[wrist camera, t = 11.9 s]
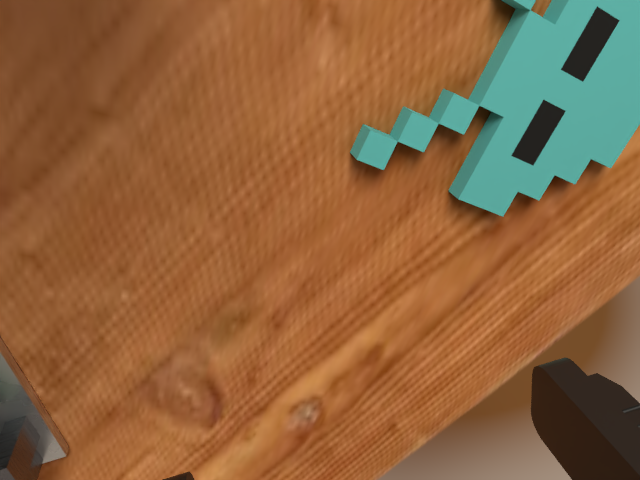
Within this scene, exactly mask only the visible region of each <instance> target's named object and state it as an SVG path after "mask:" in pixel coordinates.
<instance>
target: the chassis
mask: <svg viewBox="0 0 640 480" xmlns="http://www.w3.org/2000/svg"><path fill="white" fill-rule="evenodd" d="M68 448H69V446H68V444H67V443H66V441H65V440H64V438H63V436H62V435H61V433H60V432H59V430H58V428H57V427H56V425H55V424H54V422H53V420H52V419H51V417H50V416H49V414H48V412H47V411H46V409H45V408H44V406H43V404H42V403H41V401H40V400H39V398H38V396H37V395H36V393H35V392H34V390H33V388H32V387H31V385H30V383H29V382H28V380H27V379H26V377H25V375H24V374H23V372H22V371H21V369H20V367H19V366H18V364H17V363H16V361H15V359H14V358H13V356H12V355H11V353H10V351H9V350H8V348H7V347H6V345H5V343H4V342H3V340H2V339H1V337H0V480H37V479H38V475H39V472H40V469H41V466H42V464H43V463H46V462H49V461H53V460H56V459H59V458H62V457H66V456H67V452H68Z"/></svg>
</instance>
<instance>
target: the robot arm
mask: <svg viewBox="0 0 640 480" xmlns="http://www.w3.org/2000/svg"><path fill="white" fill-rule="evenodd" d="M531 415H532V420H533V423H534V426H535V428H536V430H537V433H538V434H539V436H540V438H541V439H542V440H543V442H544V443H545V445H546V446H547V447H548V448H549V450H550V451H551V452H552V454H553V455H554V456H555V458H556V459H557V460H558V462H559V463H560V464H561V465H562V467H563V468H564V469H565V471H566V472H567V473H568V475H569V476H570V477H571V479H572V480H640V403H639V402H638V401H637V400H636V399H635V398H633V397H632V396H631V395H630V394H629V393H628V392H627V391H626V390H625V389H624V388H623V387H622V386H620V385H618V384H616V383H615V382H613V381H611V380H609V379H607V378H605V377H603V376H601V375H599V374H598V373H596V374H593V375H590V376H587V375H586V374H585V373H584V372H583V371H582V370H581V369H580V368H579V367H578V366H577V365H576V364H575V363H574V362H573V361H572V360H570V359H568V358H562V359H559V360H555V361H552V362H549V363H546V364H542V365H539V366H536V367H534V369H533V374H532V400H531ZM163 480H194V478H193V476H192V474H191V473H190V472H186V473H183V474H180V475H176V476H173V477H170V478H167V479H163Z"/></svg>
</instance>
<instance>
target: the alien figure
mask: <svg viewBox="0 0 640 480" xmlns="http://www.w3.org/2000/svg"><path fill="white" fill-rule="evenodd" d="M501 1H503V2H505V3H507V4H508V5H510V6H512V7H513V8H515V9H516V10H515V11H514V13H513V15H512V17H511V19H510V21H509V23H508V25H507V27H506V29H505V31H504V32H503V34H502V36H501V38H500V40H499V42H498V44H497V46H496V48H495V50H494V52H493V53H492V55H491V57H490V59H489V61H488V63H487V65H486V67H485V69H484V71H483V73H482V74H481V76H480V78H479V80H478V82H477V84H476V86H475V88H474V90H473V92H472V94H471V95H470V97H469V99H468V100H467V99H465V98H463V97H461V96H459V95H457V94H455V93H452V92H450V91H448V90H445V89H443V90H442V92H441V94H440V96H439V98H438V100H437V102H436V104H435V106H434V108H433V110H432V112H431V114H430V116H429V118H428V117H426V116H424V115H422V114H419V113H417V112H415V111H413V110H411V109H408V108H406V107H404V106H403V108H402V110H401V112H400V114H399V116H398V118H397V120H396V122H395V125H394V127H393V129H392V131H391V133H390V135H388V134H386V133H383V132H381V131H379V130H376V129H374V128H371V127H369V126H367V125H364V124H363V125H362V127H361V130H360V132H359V134H358V136H357V138H356V140H355V143H354V145H353V147H352V149H351V151H350V153H351V154H352V155H353V156H354V157H355V158H356V160H359V161H361V162H364V163H366V164H369V165H372V166H374V167H377V168H379V169H382V170H384V169H385V167H386V164H387V162H388V160H389V158H390V156H391V154H392V152H393V150H394V148H395V146H396V144H397V142H400V143H402V144H405V145H407V146H410V147H412V148H414V149H417V150H419V151H422V152H424V151H425V149H426V147H427V145H428V143H429V141H430V140H431V138H432V136H433V134H434V132H435V130H436V128H437V126H438V124H441V125H443V126H445V127H448V128H450V129H452V130H454V131H457V132H459V133H461V134H463V135H464V134H465V132H466V130H467V128H468V126H469V124H470V122H471V121H472V119H473V117H474V115H475V113H476V111H477V109H478V107H479V106H481V107H483V108H485V109H487V110H489V111H491V113H490V115H489V117H488V119H487V121H486V123H485V124H484V126H483V128H482V130H481V132H480V134H479V135H478V137H477V139H476V141H475V143H474V145H473V146H472V148H471V150H470V152H469V154H468V156H467V158H466V159H465V161H464V163H463V165H462V167H461V169H460V170H459V172H458V174H457V176H456V178H455V180H454V181H453V183H452V185H451V187H450V189H449V192H450V193H451V194H452V195H454V196H455V197H456V198H457V199H459V200H462V201H464V202H467V203H469V204H472V205H474V206H477V207H480V208H482V209H485V210H487V211H490V212H492V213H495V214H498V215H500V216H504V214H505V213H506V211H507V209H508V207H509V206H510V204H511V202H512V201H513V199H514V197H515V196H516V194H517V192H520V193H522V194H525V195H527V196H530V197H532V198H534V199H537V200H540V198H541V197H542V195H543V193H544V192H545V190H546V189H547V187H548V185H549V184H550V182H551V180H552V179H553V177H554V175H555V176H557V177H560V178H562V179H564V180H566V181H569V182H571V183H573V184H576V182H577V181H578V179H579V177H580V176H581V174H582V173H583V171H584V170H585V168H586V166H587V165H588V163H589V162H590V160H594V161H596V162H598V163H600V164H602V165H605V166H607V167H609V168H612V166H613V164H614V163H615V161H616V160H617V158H618V157H619V155H620V154H621V152H622V151H623V149H624V148H625V146H626V144H627V143H628V141H629V140H630V138H631V137H632V135H633V134H634V132H635V131H636V129H637V128H638V126H639V124H640V0H552V1H551V3H550V5H549V7H548V8H547V10H546V12H545V14H544V16H543V17H541V16H539V15H538V14H536V13H534V12H533V11H531V8H532V6H533V5H534V3H535V1H536V0H501Z"/></svg>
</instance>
